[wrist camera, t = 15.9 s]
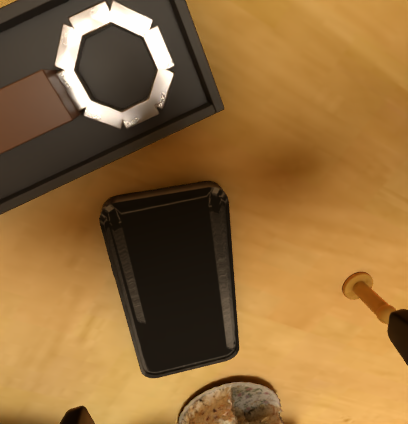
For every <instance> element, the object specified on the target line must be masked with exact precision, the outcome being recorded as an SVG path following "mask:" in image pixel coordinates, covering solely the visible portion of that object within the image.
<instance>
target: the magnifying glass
mask: <svg viewBox="0 0 408 424" xmlns="http://www.w3.org/2000/svg"><path fill="white" fill-rule="evenodd" d="M68 21H69V23H70V24H71V26H70V25H68V24H65V23H63V24H62V29H61V34H60V38H59V43H58V48H57V53H56V57H55V62H54V67H56V68H59V69H61V70H60V71H58V70H45V69H41V70H39V71H37V72H35V73H33V74H31V75H28V76H26V77H24V78H22V79H20V80H18V81H16V82H14V83H11V84H9V85H7V86H5V87H3V88H1V89H0V154H2V153H4V152H6V151H8V150H10V149H13V148H15V147H17V146H19V145H21V144H23V143H25V142H27V141H30V140H32V139H34V138H36V137H38V136H40V135H42V134H44V133H47V132H49V131H51V130H53V129H55V128H57V127H59V126H61V125H64V124H66V123H68V122H70V121H72V120H74V119H75V118H76V117H78V116H79V115H80V114H82V113H83V112H82V110H83V109H84V113H83V116H84V117H87V118H90V119H92V120H95V121H98V122H101V123H104V124H106V125H109V126H112V127H115V128H118V129H121V127H122V124H124V126H125V128H126V129H128V128H130V127H132V126H134V125H137V124H139V123H141V122H143V121H145V120H147V119H149V118H151V117H154V116H156V115H158V114H159V112H158V110H157V108H160V109H163V108H164V105H165V102H166V99H167V96H168V93H169V90H170V87H171V84H172V81H173V78H174V75H175V72H174V71H171V70H169V69H171V68H173V67H174V66H175V64H174V62H173V59H172V57H171V54H170V52H169V50H168V47H167V45H166V42H165V40H164V37H163V35H162V33H161V30H160V28H159V26H158V25H156V26H154V27H152V23H153V19H152V18H150V17H148V16H146V15H143V14H141V13H139V12H137V11H135V10H133V9H131V8H129V7H127V6H125V5H123V4H121V3H119V2H117V1H115V0H112V2H111V6H110V7H109V5H108V3H107V1H106V0H103V1H101V2H99V3H97V4H95V5H92V6H90V7H88V8H86V9H84V10H82V11H80V12H78V13H75V14H73V15H71V16H69V17H68ZM111 26H115V27H117V28H119V29H121V30H123V31H125V32H128V33H130V34H132V35H134V36H136V37H138V38H141V39H143V41H144V44H145V46H146V48H147V50H148V53H149V55H150V57H151V60H152V62H153V64H154V66H155V69H156V71H155V74H154V77H153V80H152V84H151V87H150V90H149V93H148V96H147V98H145V99H143V100H141V101H139V102H137V103H134V104H132V105H130V106H128V107H126V108H124V109H120V108H117V107H115V106H112V105H109V104H107V103H104V102H102V101H99V100H96V99H94V98H93V96H92V94H91V92H90V91H89V89H88V87H87V85H86V83H85V82H84V80H83V78H82V76H81V74H80V73H79V71H78V68H79V63H80V59H81V55H82V51H83V46H84V42H85V39H86V38H88V37H90V36H92V35H94V34H96V33H98V32H100V31H103V30H105V29H107V28H109V27H111ZM151 27H152V28H151Z"/></svg>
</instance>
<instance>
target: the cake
mask: <svg viewBox="0 0 408 424" xmlns="http://www.w3.org/2000/svg"><path fill="white" fill-rule="evenodd" d="M280 412H282V410H281V404H280V399H279V398H278V396H277V394H276V393H274V391H273V390H270V389H269V388H268V387H265V386H263V385H261V384H254V383H251V382H250V383H249V382H248V383H246V382H238V383H237V382H233V383H229V384H223V385H221V386H219V387H213V388H212V389H210V390H207V391H205V392H203V393H202V394H200V395H198V396H196V397H195V398H194V399H192V400H191V401H190V402H189V404H188V405H187V406H185V407H184V409H183V411H182V413H180V417H179V422H178V423H179V424H284V422H283V420H282V417H280Z"/></svg>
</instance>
